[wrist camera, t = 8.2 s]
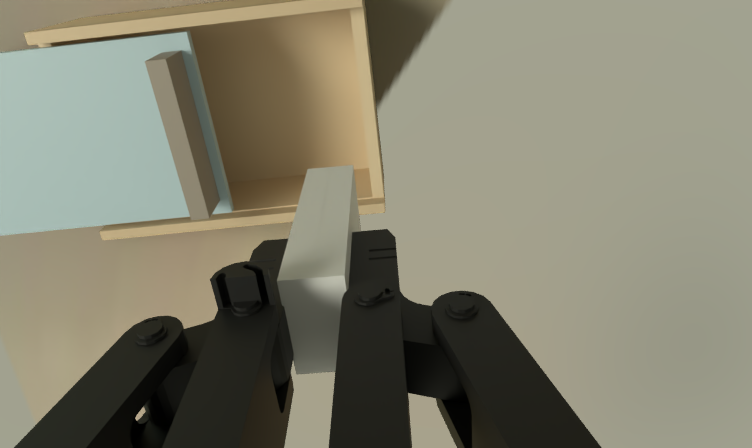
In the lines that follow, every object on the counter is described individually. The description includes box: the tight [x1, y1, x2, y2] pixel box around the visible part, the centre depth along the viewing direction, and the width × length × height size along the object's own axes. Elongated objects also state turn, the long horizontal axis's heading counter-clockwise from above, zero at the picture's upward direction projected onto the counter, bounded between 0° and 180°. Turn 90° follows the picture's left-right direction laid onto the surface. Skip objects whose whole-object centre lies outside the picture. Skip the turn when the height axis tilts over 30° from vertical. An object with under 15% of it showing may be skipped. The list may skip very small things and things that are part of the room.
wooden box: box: [24, 0, 385, 240], centre depth 38 cm, size 14×20×7 cm
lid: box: [0, 30, 234, 236], centre depth 35 cm, size 12×19×3 cm, turn 96°
